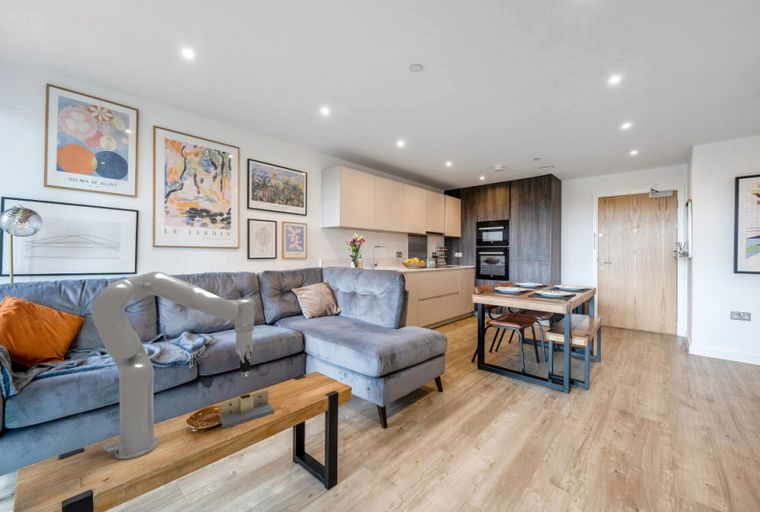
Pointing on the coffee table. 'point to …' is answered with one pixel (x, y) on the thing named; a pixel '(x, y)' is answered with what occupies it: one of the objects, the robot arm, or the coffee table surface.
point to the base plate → (246, 416)
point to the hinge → (244, 403)
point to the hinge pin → (244, 374)
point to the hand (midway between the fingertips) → (245, 370)
